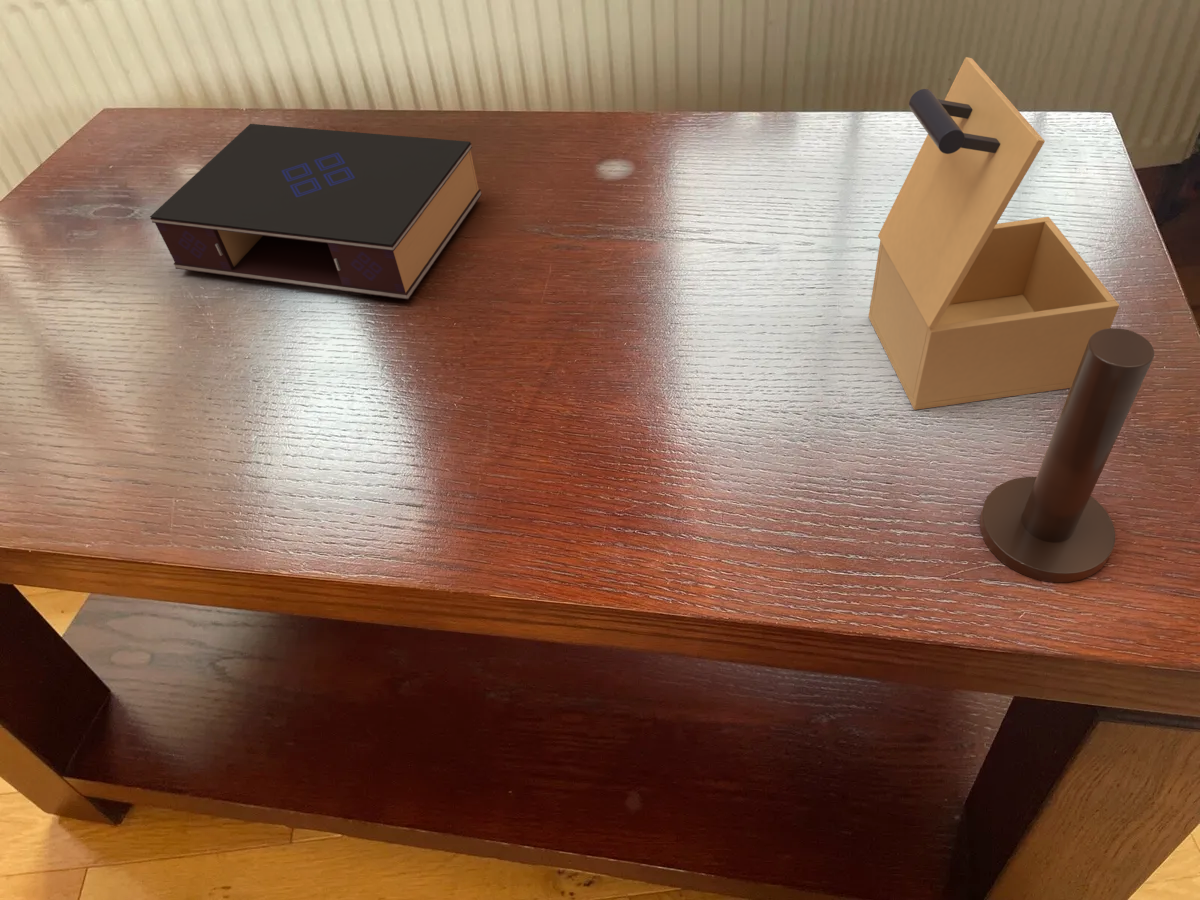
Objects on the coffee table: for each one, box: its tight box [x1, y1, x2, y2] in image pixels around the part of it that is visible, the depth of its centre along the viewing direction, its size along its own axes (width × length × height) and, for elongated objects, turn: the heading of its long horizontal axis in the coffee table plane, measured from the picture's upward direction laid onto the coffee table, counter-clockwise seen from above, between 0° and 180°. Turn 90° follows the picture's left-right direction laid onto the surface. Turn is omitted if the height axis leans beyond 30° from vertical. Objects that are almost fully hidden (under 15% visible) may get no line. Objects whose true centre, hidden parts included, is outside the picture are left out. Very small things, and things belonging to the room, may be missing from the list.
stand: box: [979, 327, 1155, 583], centre depth 56 cm, size 8×8×16 cm
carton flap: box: [877, 56, 1046, 328], centre depth 63 cm, size 14×11×5 cm
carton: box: [868, 216, 1120, 411], centre depth 71 cm, size 13×11×8 cm
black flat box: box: [149, 123, 482, 300], centre depth 90 cm, size 17×25×7 cm
